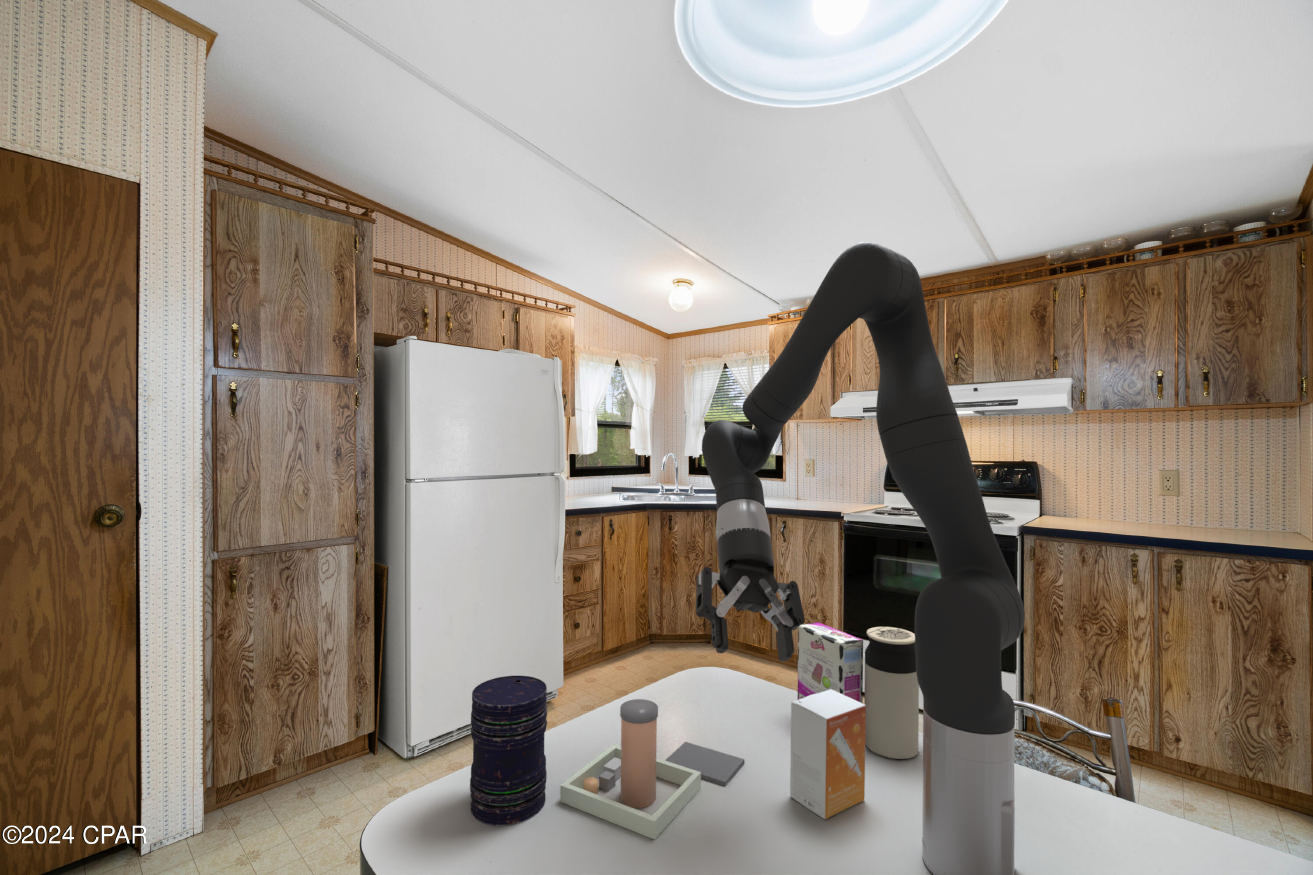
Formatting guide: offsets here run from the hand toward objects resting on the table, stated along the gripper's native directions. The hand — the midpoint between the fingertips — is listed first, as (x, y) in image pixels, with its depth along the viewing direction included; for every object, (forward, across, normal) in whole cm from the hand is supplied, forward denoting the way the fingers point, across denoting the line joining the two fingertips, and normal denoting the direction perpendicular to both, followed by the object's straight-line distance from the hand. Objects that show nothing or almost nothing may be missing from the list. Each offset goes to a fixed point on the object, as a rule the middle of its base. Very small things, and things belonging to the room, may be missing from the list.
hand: (754, 655), depth 74 cm
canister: (+13, -8, +22) cm, 27 cm away
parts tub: (+12, -9, +23) cm, 27 cm away
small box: (+13, +16, +15) cm, 26 cm away
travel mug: (+4, +33, +21) cm, 39 cm away
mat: (+7, +3, +26) cm, 27 cm away
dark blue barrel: (+14, -25, +27) cm, 39 cm away
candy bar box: (0, +27, +28) cm, 39 cm away
